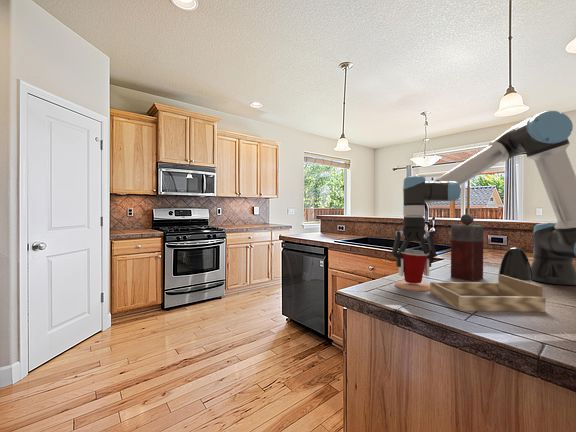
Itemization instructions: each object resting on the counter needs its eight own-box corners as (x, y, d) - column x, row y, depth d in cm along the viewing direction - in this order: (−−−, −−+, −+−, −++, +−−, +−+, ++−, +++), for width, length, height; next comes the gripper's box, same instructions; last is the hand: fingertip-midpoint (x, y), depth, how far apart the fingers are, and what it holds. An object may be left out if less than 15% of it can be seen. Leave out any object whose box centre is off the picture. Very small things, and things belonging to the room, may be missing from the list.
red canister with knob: (486, 279, 120) (486, 214, 120) (472, 283, 114) (473, 214, 114) (463, 276, 127) (464, 214, 127) (450, 278, 121) (450, 214, 121)
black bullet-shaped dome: (526, 284, 112) (527, 246, 111) (536, 291, 102) (537, 249, 102) (495, 282, 116) (495, 245, 116) (502, 288, 106) (502, 248, 106)
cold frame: (499, 293, 98) (499, 274, 98) (545, 311, 80) (545, 287, 80) (430, 293, 99) (430, 273, 99) (460, 310, 81) (460, 286, 81)
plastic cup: (418, 286, 100) (418, 253, 100) (392, 281, 109) (392, 250, 109) (435, 282, 106) (435, 251, 106) (409, 277, 115) (409, 248, 115)
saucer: (422, 282, 114) (422, 280, 114) (439, 291, 101) (439, 288, 101) (390, 282, 114) (390, 280, 114) (403, 291, 101) (403, 288, 101)
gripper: (437, 216, 111) (437, 273, 111) (382, 216, 112) (382, 273, 112) (447, 216, 104) (447, 277, 104) (388, 216, 104) (388, 277, 104)
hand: (413, 275), depth 108 cm, fingers closed on plastic cup, 9 cm apart
